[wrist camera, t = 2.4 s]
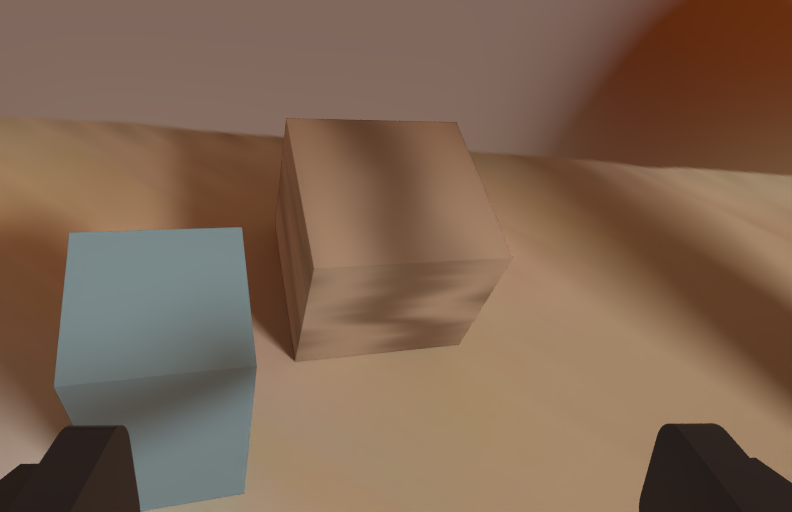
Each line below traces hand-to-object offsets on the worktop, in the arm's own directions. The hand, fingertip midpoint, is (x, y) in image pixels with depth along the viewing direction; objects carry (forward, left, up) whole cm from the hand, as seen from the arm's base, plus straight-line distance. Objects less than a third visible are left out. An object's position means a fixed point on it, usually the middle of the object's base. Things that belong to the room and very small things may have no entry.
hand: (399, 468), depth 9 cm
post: (+4, -8, -18) cm, 20 cm away
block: (-6, -16, -18) cm, 25 cm away
